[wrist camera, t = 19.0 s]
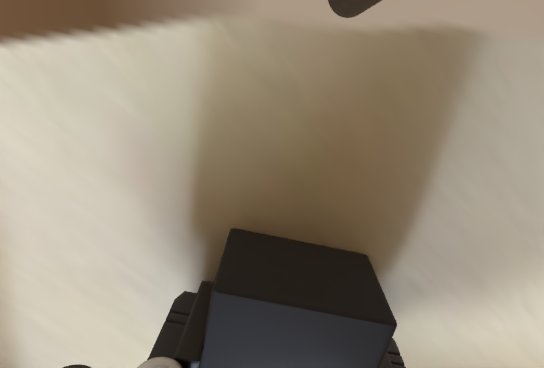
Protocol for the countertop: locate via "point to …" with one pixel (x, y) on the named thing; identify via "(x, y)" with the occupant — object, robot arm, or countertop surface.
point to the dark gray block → (294, 307)
